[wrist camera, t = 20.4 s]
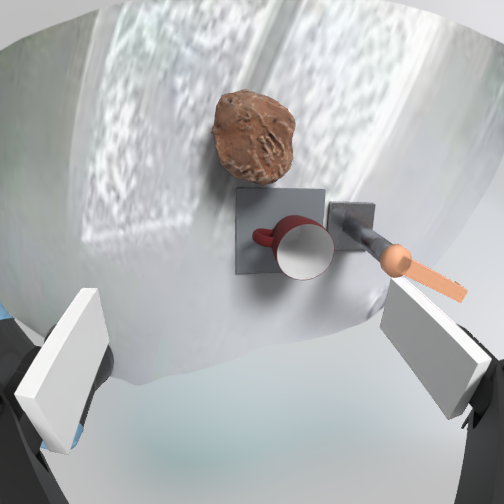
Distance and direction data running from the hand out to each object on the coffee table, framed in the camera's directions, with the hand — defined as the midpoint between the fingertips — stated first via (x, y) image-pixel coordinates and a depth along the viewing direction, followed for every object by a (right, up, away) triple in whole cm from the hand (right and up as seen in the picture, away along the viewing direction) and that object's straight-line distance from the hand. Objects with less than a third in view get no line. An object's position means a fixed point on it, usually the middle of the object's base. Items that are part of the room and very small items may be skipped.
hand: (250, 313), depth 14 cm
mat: (+5, +6, +38) cm, 39 cm away
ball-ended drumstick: (+25, 0, +29) cm, 38 cm away
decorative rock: (0, +20, +32) cm, 38 cm away
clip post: (+16, +7, +39) cm, 43 cm away
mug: (+5, +6, +38) cm, 38 cm away
